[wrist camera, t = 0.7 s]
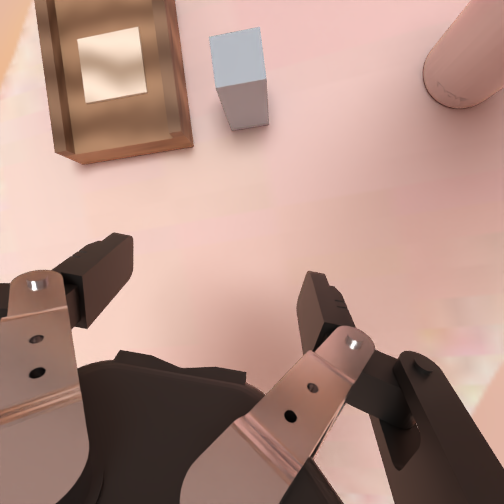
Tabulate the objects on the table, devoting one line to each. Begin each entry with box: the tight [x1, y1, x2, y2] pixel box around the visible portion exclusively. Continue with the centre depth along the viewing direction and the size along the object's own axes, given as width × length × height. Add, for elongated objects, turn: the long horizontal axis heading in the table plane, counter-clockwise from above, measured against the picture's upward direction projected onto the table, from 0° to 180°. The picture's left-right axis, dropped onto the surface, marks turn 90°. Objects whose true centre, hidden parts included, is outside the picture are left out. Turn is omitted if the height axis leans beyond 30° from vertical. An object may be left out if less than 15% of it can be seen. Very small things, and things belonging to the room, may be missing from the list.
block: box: [209, 27, 269, 131], centre depth 32 cm, size 5×5×10 cm
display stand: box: [34, 0, 194, 165], centre depth 35 cm, size 20×16×5 cm
